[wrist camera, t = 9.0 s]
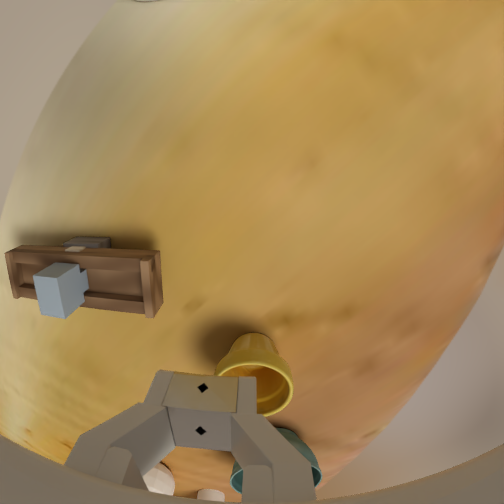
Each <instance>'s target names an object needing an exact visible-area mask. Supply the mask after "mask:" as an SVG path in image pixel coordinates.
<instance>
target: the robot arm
mask: <svg viewBox="0 0 504 504" xmlns="http://www.w3.org/2000/svg"><path fill="white" fill-rule="evenodd" d="M136 1H156V0H136ZM175 446H181V447H191V448H203V449H211V450H221V451H231V453H232V455H233V456H234V458H235V459H236V461H237V462H238V464H239V465H240V467H241V468H242V470H243V484H242V502H222V501H210V500H201V499H192V498H185V497H178V496H172V495H166V494H161V493H155V492H151V491H149V490H148V488H147V486H146V484H145V482H144V480H143V476H144V475H145V474H146V473H147V472H149V471H150V470H151V469H152V468H153V467H154V466H155V465H156V464H158V463H159V462H160V461H161V460H162V459H163V458H164V457H165V456H166V455H168V454H169V453H170V452H171V451H172V450H173V449H174V448H175ZM0 504H504V444H502V445H500V446H498V447H496V448H494V449H492V450H490V451H488V452H486V453H484V454H482V455H480V456H478V457H476V458H473V459H471V460H469V461H467V462H464V463H462V464H460V465H457V466H455V467H452V468H450V469H447V470H444V471H441V472H439V473H436V474H433V475H430V476H427V477H424V478H421V479H418V480H414V481H411V482H408V483H404V484H400V485H397V486H393V487H389V488H385V489H381V490H376V491H371V492H367V493H361V494H356V495H351V496H345V497H338V498H330V499H323V500H316V493H315V487H314V481H313V475H312V468H311V463H310V462H309V461H308V460H307V459H306V458H305V457H304V456H303V455H302V454H301V453H300V452H299V451H298V450H297V449H296V448H295V447H294V446H293V445H291V444H290V443H289V442H288V441H287V440H286V439H285V438H284V437H283V436H282V435H281V434H280V433H279V432H278V431H277V429H276V428H275V427H274V426H273V425H272V424H271V423H270V422H269V421H268V420H267V419H266V418H265V417H264V416H263V415H262V414H257V396H256V377H241V376H239V377H231V376H213V375H201V374H192V373H184V372H176V371H175V372H174V371H166V370H159V371H157V373H156V375H155V377H154V380H153V382H152V384H151V386H150V389H149V391H148V393H147V396H146V398H145V400H144V403H137V404H135V405H134V406H132V407H130V408H129V409H127V410H125V411H123V412H122V413H120V414H118V415H116V416H115V417H113V418H111V419H109V420H107V421H106V422H104V423H102V424H100V425H98V426H96V427H95V428H93V429H91V430H89V431H87V432H85V433H83V434H82V435H80V437H79V438H78V440H77V442H76V444H75V446H74V447H73V449H72V451H71V453H70V455H69V457H68V458H67V460H66V462H65V464H64V465H62V464H59V463H57V462H55V461H52V460H50V459H48V458H45V457H43V456H41V455H39V454H37V453H35V452H33V451H30V450H28V449H26V448H24V447H23V446H21V445H19V444H17V443H15V442H13V441H11V440H9V439H8V438H6V437H4V436H2V435H1V434H0Z"/></svg>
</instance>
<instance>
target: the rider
mask: <svg viewBox="0 0 504 504" xmlns="http://www.w3.org/2000/svg"><path fill="white" fill-rule="evenodd" d="M33 279H34V285H35V289H36V294H37V299H38V303H39V307H40V311H41V314H42V315H47V316H52V317H57V318H63V319H66V318H67V317H68V316H69V315H70V314H71V313H72V312H74V311H75V310H76V309H77V308H78V307H79V306H80V305H81V304H82V303H84V302H85V300H84V294H83V293H84V292H85V291H86V290H87V289H89V285H88V278H87V271H86V269H79V264H69V263H56V262H55V263H53V264H52V265H50V266H48V267H46V268H45V269H43V270H41V271H40V272H38V273H36V274H34V275H33Z"/></svg>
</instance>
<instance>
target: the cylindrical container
mask: <svg viewBox="0 0 504 504" xmlns="http://www.w3.org/2000/svg"><path fill="white" fill-rule="evenodd" d="M197 499H201V500H210V501H222V502H224V500H225V495H224V493H222V492H220V491H218V490H213V489H202V490H199V491H198V495H197Z"/></svg>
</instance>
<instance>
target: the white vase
mask: <svg viewBox="0 0 504 504" xmlns="http://www.w3.org/2000/svg"><path fill="white" fill-rule="evenodd" d="M143 480H144V482H145V484H146V486H147V488H148V490H149V491H151V492H155V493H161V494H166V495H172V496H173V493H174V488H175V482H174V478H173V475H172V473H171V472H170V471H169V469H168V468H166V467H165V466H164V465H163V464H161V463H158V464H156V465H155V466H154V467H153V468H152V469H151V470H150V471H149V472H147V473H146V474H145V475H144V476H143Z"/></svg>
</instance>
